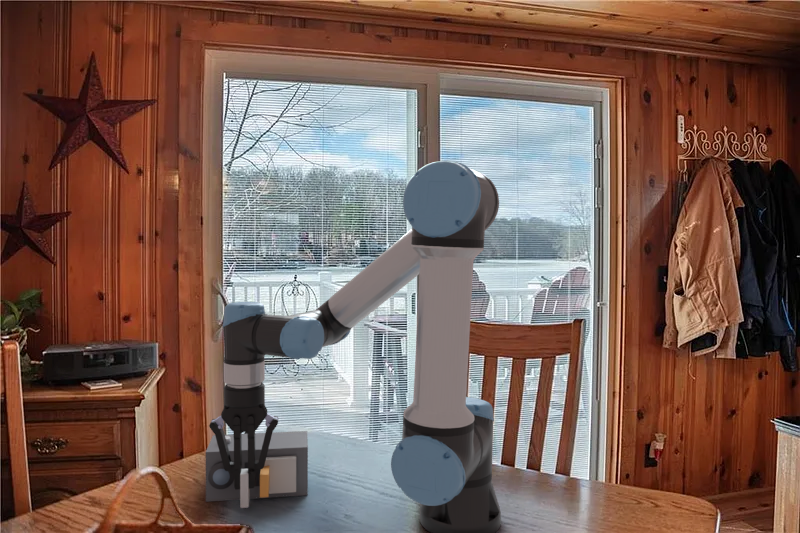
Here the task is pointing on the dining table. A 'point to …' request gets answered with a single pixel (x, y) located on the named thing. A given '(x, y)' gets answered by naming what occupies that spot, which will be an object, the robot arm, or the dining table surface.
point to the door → (278, 475)
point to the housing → (280, 445)
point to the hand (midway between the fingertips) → (245, 504)
